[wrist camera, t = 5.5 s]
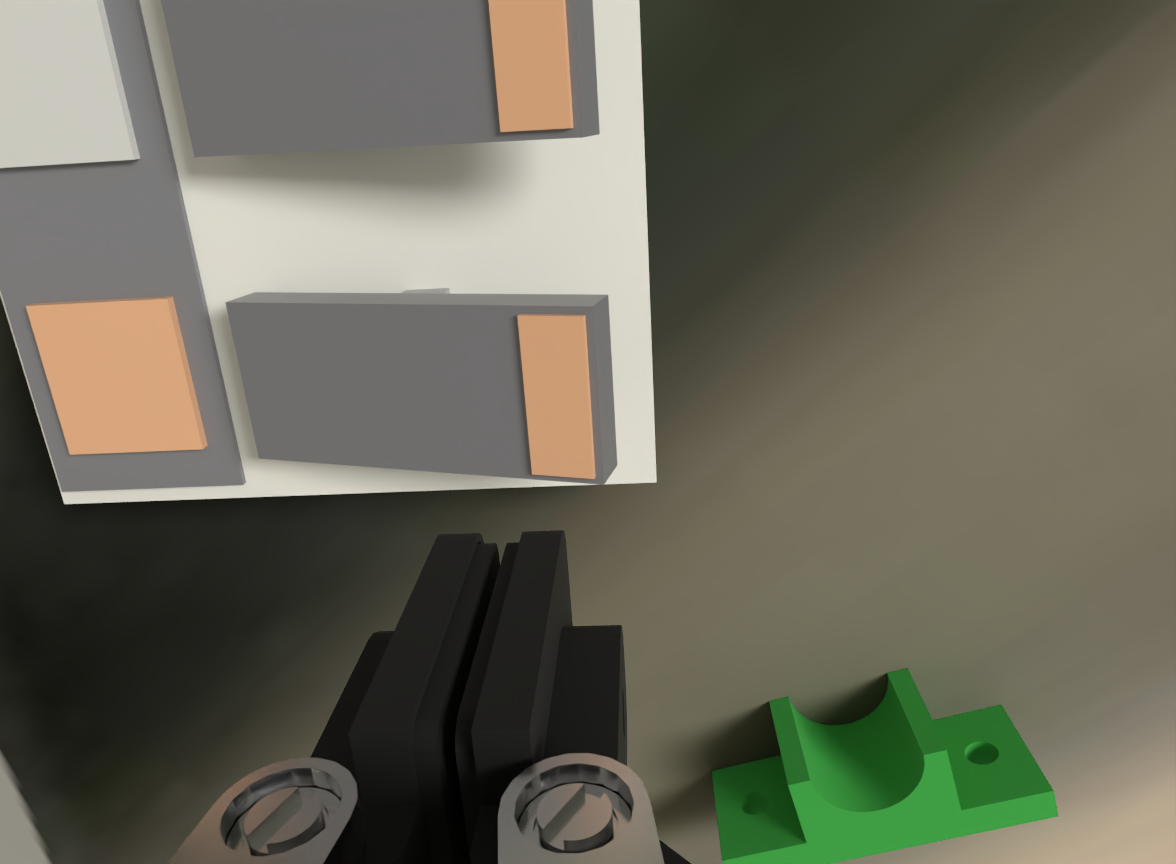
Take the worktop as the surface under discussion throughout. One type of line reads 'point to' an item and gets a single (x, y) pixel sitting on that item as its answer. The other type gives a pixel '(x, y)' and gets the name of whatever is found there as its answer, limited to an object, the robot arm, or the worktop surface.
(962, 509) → the worktop surface
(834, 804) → the pipe clamp
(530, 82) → the rocker
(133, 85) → the switch unit
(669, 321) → the worktop surface
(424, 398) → the rocker
